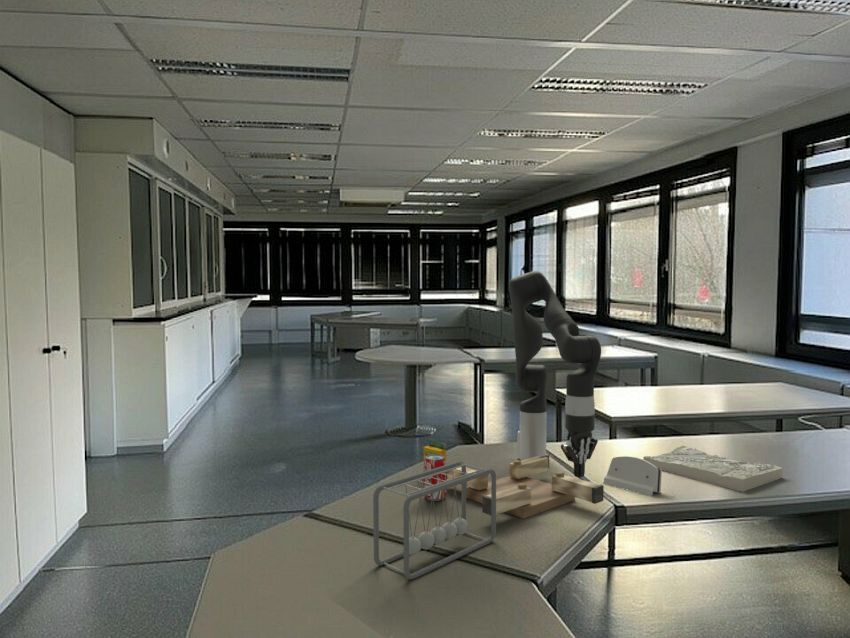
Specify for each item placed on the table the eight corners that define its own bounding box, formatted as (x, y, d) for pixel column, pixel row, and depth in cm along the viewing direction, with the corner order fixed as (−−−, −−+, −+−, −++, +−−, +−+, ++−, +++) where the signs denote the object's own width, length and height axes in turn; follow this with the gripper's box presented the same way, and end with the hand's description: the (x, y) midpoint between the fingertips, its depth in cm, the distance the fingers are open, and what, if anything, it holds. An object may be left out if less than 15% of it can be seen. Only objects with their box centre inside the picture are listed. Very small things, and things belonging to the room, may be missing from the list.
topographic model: (742, 493, 185) (743, 476, 184) (643, 466, 212) (643, 451, 212) (782, 479, 198) (782, 463, 198) (683, 455, 226) (683, 441, 226)
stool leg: (551, 490, 178) (551, 473, 178) (559, 487, 180) (560, 470, 180) (594, 503, 167) (595, 485, 166) (603, 500, 169) (603, 482, 169)
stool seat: (415, 495, 182) (415, 469, 181) (516, 467, 210) (516, 445, 209) (496, 528, 157) (496, 498, 157) (598, 491, 185) (599, 466, 185)
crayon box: (423, 477, 200) (423, 441, 199) (429, 475, 202) (429, 439, 201) (440, 482, 195) (440, 445, 194) (446, 479, 197) (446, 443, 196)
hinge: (602, 483, 193) (608, 450, 195) (610, 485, 196) (616, 453, 198) (652, 496, 181) (659, 462, 182) (660, 498, 184) (666, 464, 185)
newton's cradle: (406, 583, 128) (406, 497, 127) (372, 567, 135) (372, 486, 135) (496, 540, 150) (497, 467, 149) (463, 529, 157) (463, 458, 156)
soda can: (434, 493, 184) (434, 452, 184) (450, 498, 180) (450, 456, 179) (419, 498, 180) (419, 456, 179) (435, 503, 175) (435, 461, 175)
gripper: (575, 417, 158) (574, 485, 159) (607, 410, 166) (606, 475, 167) (552, 412, 164) (551, 478, 165) (584, 406, 172) (583, 468, 173)
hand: (579, 476), depth 166 cm, fingers closed
